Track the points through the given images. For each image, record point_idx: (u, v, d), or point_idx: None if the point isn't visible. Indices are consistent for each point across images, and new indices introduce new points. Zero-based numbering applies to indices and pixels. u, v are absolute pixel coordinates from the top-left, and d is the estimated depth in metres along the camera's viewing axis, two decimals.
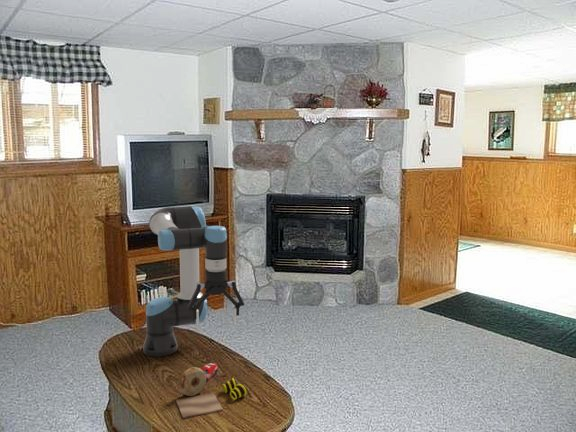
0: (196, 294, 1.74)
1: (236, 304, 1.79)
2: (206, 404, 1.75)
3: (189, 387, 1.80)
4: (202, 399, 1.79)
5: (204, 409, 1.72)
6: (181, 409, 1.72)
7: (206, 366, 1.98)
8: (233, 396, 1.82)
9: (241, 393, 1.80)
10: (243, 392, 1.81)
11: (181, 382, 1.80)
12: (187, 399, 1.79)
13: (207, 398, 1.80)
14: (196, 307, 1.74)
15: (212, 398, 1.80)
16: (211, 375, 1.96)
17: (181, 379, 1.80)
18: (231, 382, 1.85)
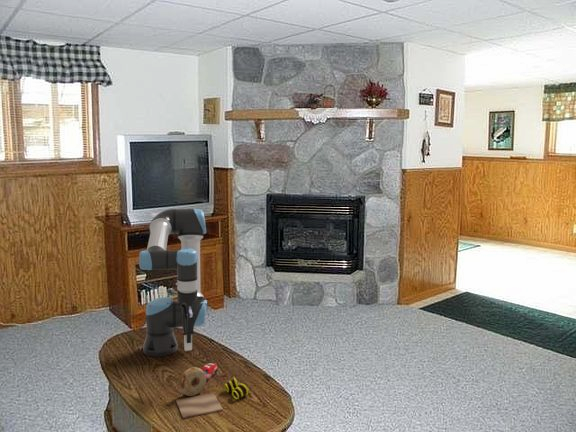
0: None
1: (185, 331, 1.85)
2: (206, 404, 1.75)
3: (189, 387, 1.80)
4: (202, 399, 1.79)
5: (204, 409, 1.72)
6: (181, 409, 1.72)
7: (206, 366, 1.98)
8: (235, 395, 1.82)
9: (243, 392, 1.81)
10: (245, 391, 1.81)
11: (181, 382, 1.80)
12: (187, 399, 1.79)
13: (207, 398, 1.80)
14: (184, 328, 1.88)
15: (212, 398, 1.80)
16: (211, 375, 1.96)
17: (181, 379, 1.80)
18: (233, 382, 1.85)
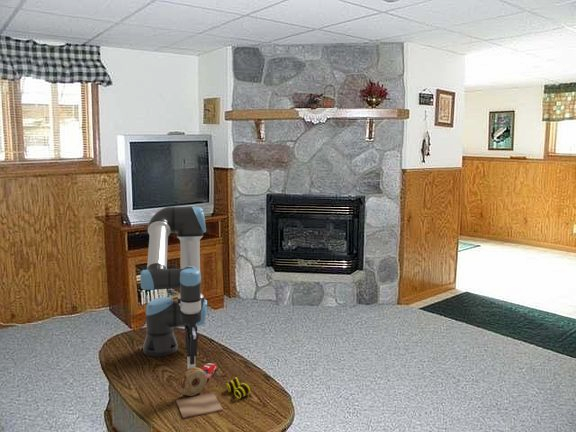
0: (185, 333, 1.86)
1: (188, 352, 1.82)
2: (206, 404, 1.75)
3: (189, 387, 1.80)
4: (202, 399, 1.79)
5: (204, 409, 1.72)
6: (181, 409, 1.72)
7: (205, 366, 1.98)
8: (237, 395, 1.82)
9: (245, 392, 1.81)
10: (247, 391, 1.82)
11: (181, 382, 1.79)
12: (187, 399, 1.79)
13: (207, 398, 1.80)
14: (187, 349, 1.84)
15: (212, 398, 1.80)
16: (211, 375, 1.96)
17: (182, 379, 1.79)
18: (235, 381, 1.86)
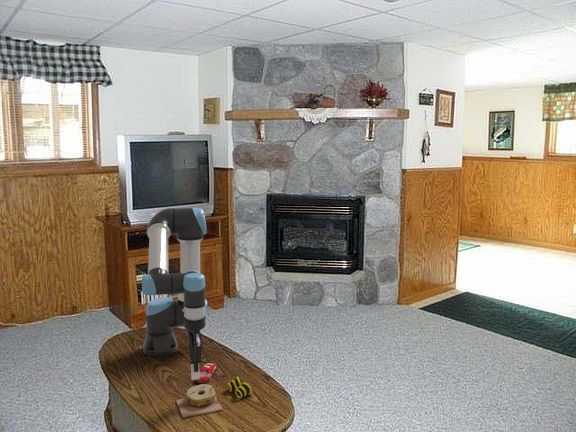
0: None
1: (192, 359, 1.76)
2: None
3: None
4: None
5: (204, 409, 1.72)
6: (181, 409, 1.72)
7: (205, 366, 1.98)
8: (238, 395, 1.83)
9: (246, 391, 1.82)
10: (248, 390, 1.82)
11: (190, 402, 1.74)
12: None
13: None
14: (191, 356, 1.78)
15: None
16: (211, 375, 1.97)
17: (192, 402, 1.74)
18: (236, 381, 1.86)
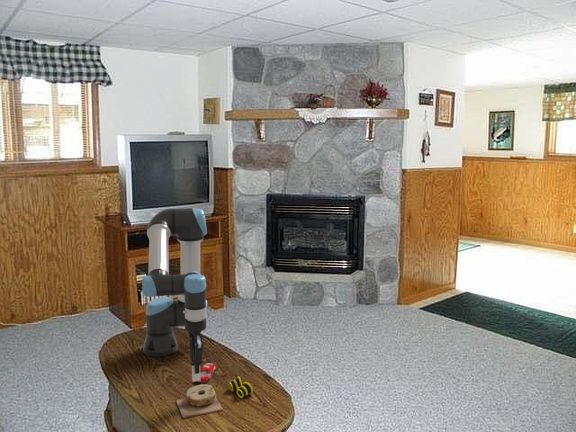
0: (189, 341, 1.79)
1: (193, 361, 1.75)
2: None
3: None
4: None
5: (204, 409, 1.72)
6: (181, 409, 1.72)
7: (205, 366, 1.98)
8: (240, 394, 1.83)
9: (248, 391, 1.82)
10: (250, 390, 1.83)
11: (190, 402, 1.74)
12: None
13: None
14: (191, 358, 1.77)
15: None
16: (211, 375, 1.97)
17: (192, 402, 1.74)
18: (237, 380, 1.86)
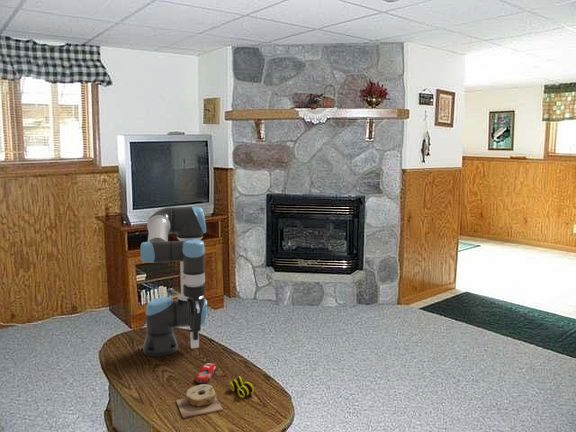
0: (188, 308, 1.78)
1: (192, 327, 1.74)
2: None
3: None
4: None
5: (204, 409, 1.72)
6: (181, 409, 1.72)
7: (205, 366, 1.98)
8: (241, 394, 1.83)
9: (249, 391, 1.82)
10: (251, 390, 1.83)
11: (190, 402, 1.74)
12: None
13: None
14: (190, 324, 1.76)
15: None
16: (211, 375, 1.97)
17: (192, 402, 1.74)
18: (238, 380, 1.87)
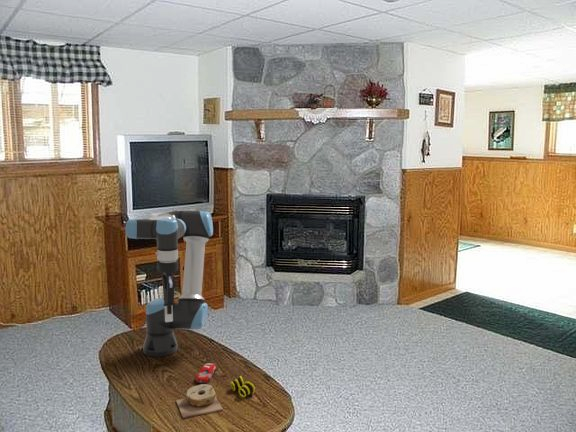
0: None
1: (165, 302, 1.82)
2: None
3: None
4: None
5: (204, 409, 1.72)
6: (181, 409, 1.72)
7: (205, 366, 1.98)
8: (242, 394, 1.83)
9: (250, 390, 1.83)
10: (252, 389, 1.83)
11: (190, 402, 1.74)
12: None
13: None
14: (164, 299, 1.85)
15: None
16: (211, 375, 1.97)
17: (192, 402, 1.74)
18: (239, 380, 1.87)
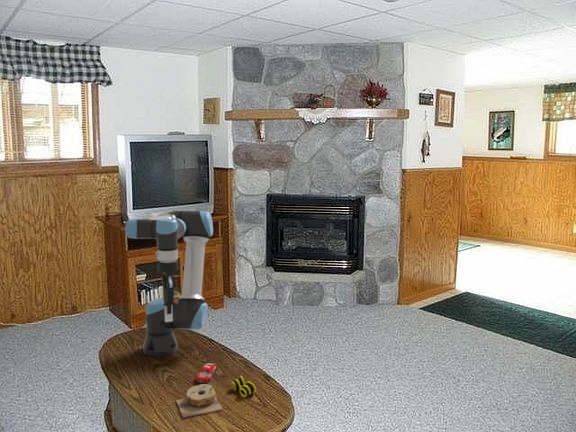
0: None
1: (165, 302, 1.82)
2: None
3: None
4: None
5: (204, 409, 1.72)
6: (181, 409, 1.72)
7: (206, 366, 1.98)
8: (243, 393, 1.84)
9: (251, 390, 1.83)
10: (253, 389, 1.83)
11: (190, 402, 1.74)
12: None
13: None
14: (164, 299, 1.85)
15: None
16: (211, 375, 1.97)
17: (192, 402, 1.74)
18: (240, 380, 1.87)
